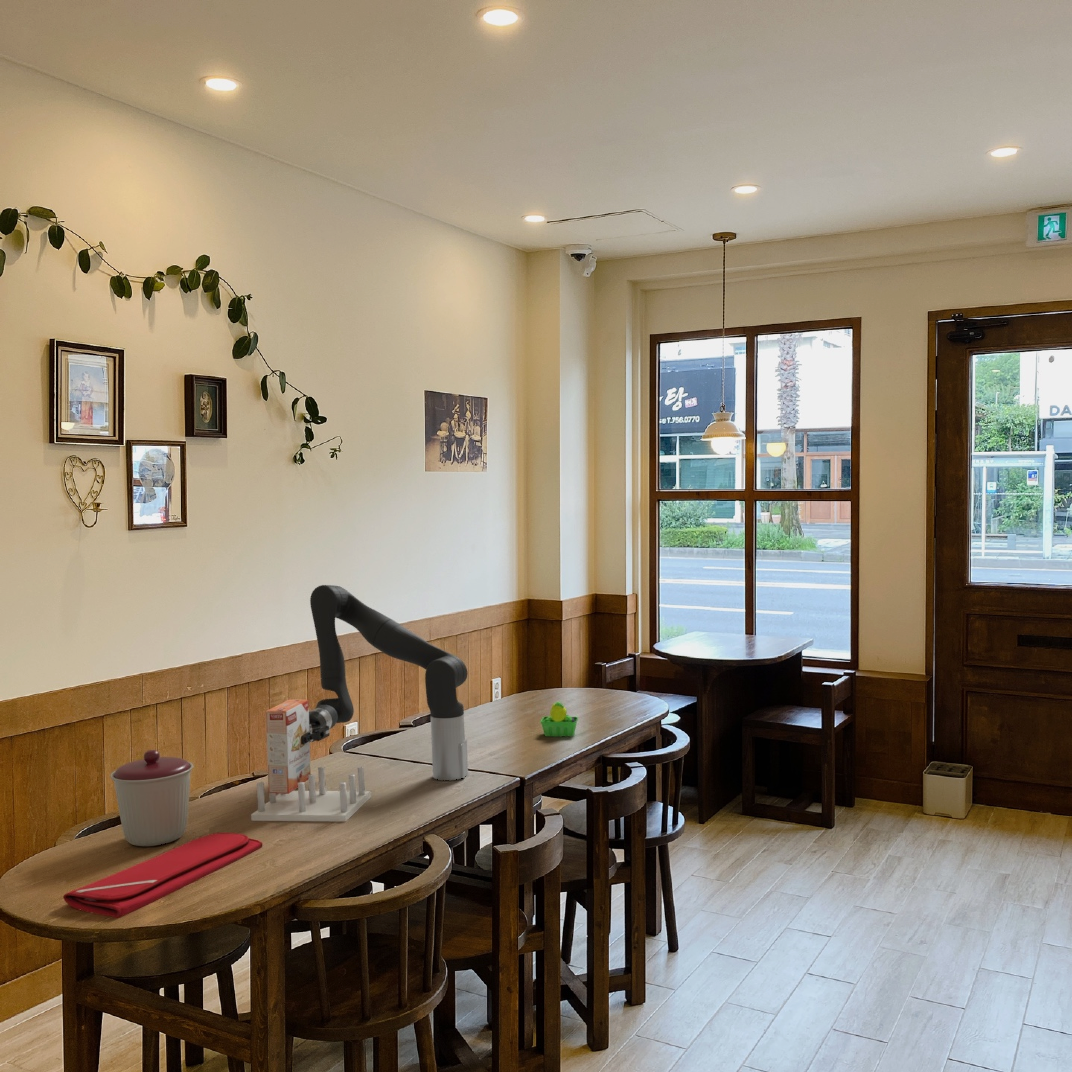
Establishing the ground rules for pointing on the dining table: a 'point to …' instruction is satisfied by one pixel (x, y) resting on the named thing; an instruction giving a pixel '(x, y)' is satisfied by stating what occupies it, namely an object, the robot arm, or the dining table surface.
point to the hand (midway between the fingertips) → (290, 740)
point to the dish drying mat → (161, 874)
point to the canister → (153, 798)
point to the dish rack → (313, 801)
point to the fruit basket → (559, 722)
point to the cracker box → (287, 745)
